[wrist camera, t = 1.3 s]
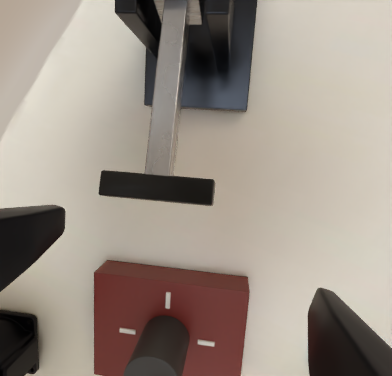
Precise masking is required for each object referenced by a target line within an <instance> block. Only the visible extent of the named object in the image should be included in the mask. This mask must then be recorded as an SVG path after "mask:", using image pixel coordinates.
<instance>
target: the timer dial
mask: <svg viewBox="0 0 392 376" xmlns="http://www.w3.org/2000/svg"><path fill="white" fill-rule="evenodd" d="M188 346H189V333H188V331H187V329H186V327H185V326H184V324H183V323H182V322H180V321H179V320H178V319H176V318H174V317H171V316H157V317H154V318H152V319H151V320H150V321H148V323H147V324H146V325H145V327H144V330H143V332H142V334H141V336H140V338H139V340H138V342H137V345H136V347H135V349H134V351H133V353H132V355H131V357H130V359H129V362H128V364H127V366H126V368H125V370H124V375H123V376H182V374H183V370H184V365H185V360H186V355H187V351H188Z"/></svg>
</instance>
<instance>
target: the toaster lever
mask: <svg viewBox="0 0 392 376" xmlns="http://www.w3.org/2000/svg"><path fill="white" fill-rule="evenodd" d="M153 1H154V4H155V7H156V10H157V13H158V16H159V19H160V22H161V24H162V25H161V34H160V42H159V51H158V60H157V69H156V78H155V87H154V96H153V104H152V113H151V122H150V131H149V140H148V149H147V158H146V166H145V174H142V173H130V172H118V171H105V170H103V171H102V172H101V179H100V187H99V195H103V196H109V197H120V198H131V199H141V200H152V201H163V202H173V203H184V204H195V205H205V206H213V204H214V193H215V181H214V180H213V179H203V178H190V177H178V176H174V167H175V157H176V148H177V138H178V128H179V119H180V109H181V99H182V90H183V80H184V71H185V61H186V51H187V42H188V32H189V25H202V24H203V16H204V6H205V0H153Z"/></svg>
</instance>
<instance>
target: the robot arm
mask: <svg viewBox="0 0 392 376" xmlns="http://www.w3.org/2000/svg"><path fill="white" fill-rule="evenodd" d="M64 229H65V209H64V208H62V207H60V206H56V205H44V206H30V207H17V208H4V209H0V292H1V291H2V290H3V289H4V288H6V287H7V286H8V285H9V284H10V283H12V282H13V281H14V280H15V279H16V278H17V277H19V276H20V275H21V274H22V273H23V272H24V271H26V270H27V269H28V268H29V267H30V266H31V265H32V264H33V263H35V262H36V261H37V260H38V259H39V258H40V257H41V256H42V255H43V253H44V252H45V251H46V250H47V249H48V248H49V247H50V246H51V245H52V244H53V243H54V242H55V241H56V240H57V239H58V238H59V237H60V236H61V235H62V234H63V232H64ZM308 364H309V374H310V376H392V348H391V347H390V346H389V345H388V344H387V343H386V342H385V341H383V340H382V339H381V338H380V337H379V336H378V335H377V334H376V333H375V332H374V331H373V330H372V329H371V328H370V327H369V326H368V325H367V324H366V323H365V322H364V321H363V320H362V319H361V318H360V317H359V316H358V315H357V314H356V313H355V312H354V311H353V310H352V309H350V308H349V307H348V306H347V305H346V304H345V303H344V302H343V301H342V300H341V299H340V298H339V297H338V296H337V295H336V294H335V293H334V292H332V291H330V290H327V289H323V288H318V289H317V291H316V293H315V295H314V298H313V300H312V303H311V305H310V308H309V311H308ZM38 369H39V359H38V334H37V318H36V317H35V316H34V315H30V314H24V313H17V312H11V311H4V310H0V376H24V375H25V374H26V373H29V374H35V373H36V372H37V370H38Z"/></svg>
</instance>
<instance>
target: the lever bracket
mask: <svg viewBox="0 0 392 376" xmlns="http://www.w3.org/2000/svg"><path fill="white" fill-rule="evenodd" d="M256 7H257V0H205V6H204V16H203V24H202V25H189V32H188V42H187V51H186V61H185V71H184V80H183V90H182V99H181V109H200V110H219V111H237V112H246V110H247V103H248V92H249V82H250V71H251V60H252V50H253V39H254V29H255V18H256ZM115 13H116V14H117V15H118V16H119V18H120V19H121V20H122V21H123V22H124V23H125V24H126V25H127V26H128V28H129V29H130V30H131V31H132V32H133V33H134V34H135V35H136V36H137V38H138V39H139V40H140V41H141V42H142V43H143V44H144V45H145V46H146V67H145V100H144V105H146V106H148V107H152V104H153V96H154V87H155V78H156V69H157V60H158V51H159V42H160V34H161V25H162V24H161V22H160V19H159V16H158V13H157V10H156V7H155V4H154V1H153V0H115Z"/></svg>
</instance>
